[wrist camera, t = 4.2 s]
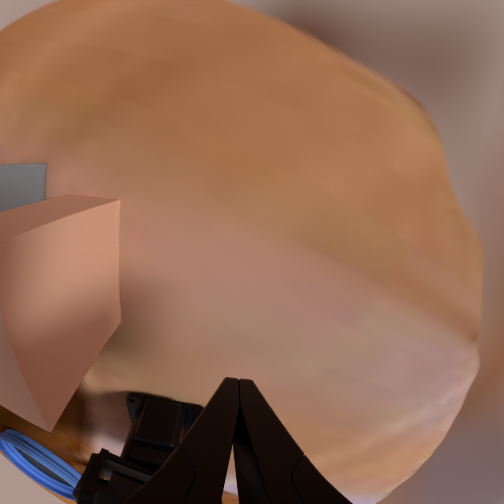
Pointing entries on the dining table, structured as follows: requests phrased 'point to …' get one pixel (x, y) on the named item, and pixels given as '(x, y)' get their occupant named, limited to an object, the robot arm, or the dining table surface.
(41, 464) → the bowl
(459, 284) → the dining table surface
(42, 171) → the mat
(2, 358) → the terracotta block
